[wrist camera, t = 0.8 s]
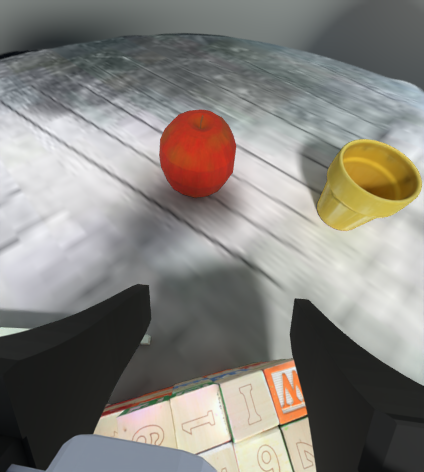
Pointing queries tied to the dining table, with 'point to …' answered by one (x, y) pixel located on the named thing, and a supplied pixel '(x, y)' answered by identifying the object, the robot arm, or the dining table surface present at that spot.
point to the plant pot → (367, 184)
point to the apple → (197, 153)
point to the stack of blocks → (224, 419)
